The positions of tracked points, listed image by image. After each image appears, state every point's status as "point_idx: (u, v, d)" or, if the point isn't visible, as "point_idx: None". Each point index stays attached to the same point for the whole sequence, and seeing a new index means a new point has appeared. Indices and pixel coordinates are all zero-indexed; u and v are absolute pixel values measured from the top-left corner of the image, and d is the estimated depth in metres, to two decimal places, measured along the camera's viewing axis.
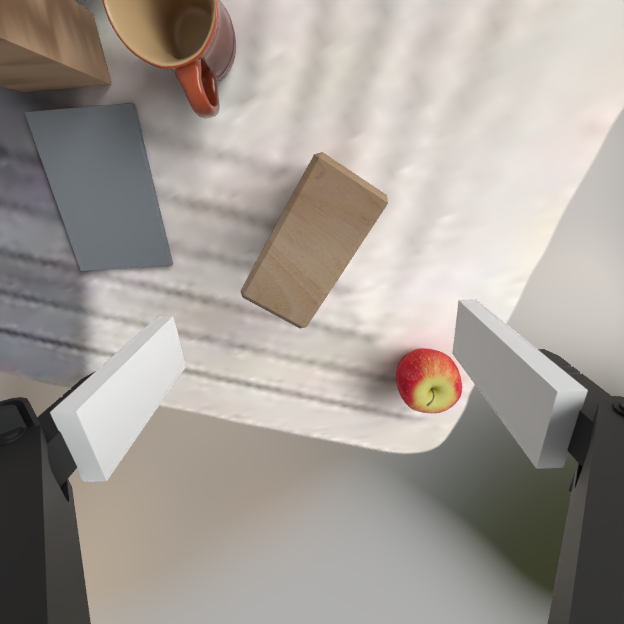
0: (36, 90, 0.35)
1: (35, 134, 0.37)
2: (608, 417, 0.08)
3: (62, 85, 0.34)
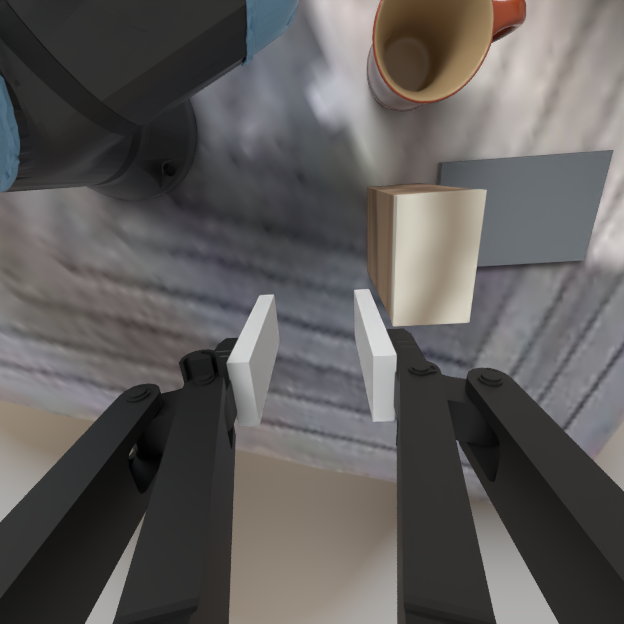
0: None
1: None
2: (406, 379, 0.10)
3: None
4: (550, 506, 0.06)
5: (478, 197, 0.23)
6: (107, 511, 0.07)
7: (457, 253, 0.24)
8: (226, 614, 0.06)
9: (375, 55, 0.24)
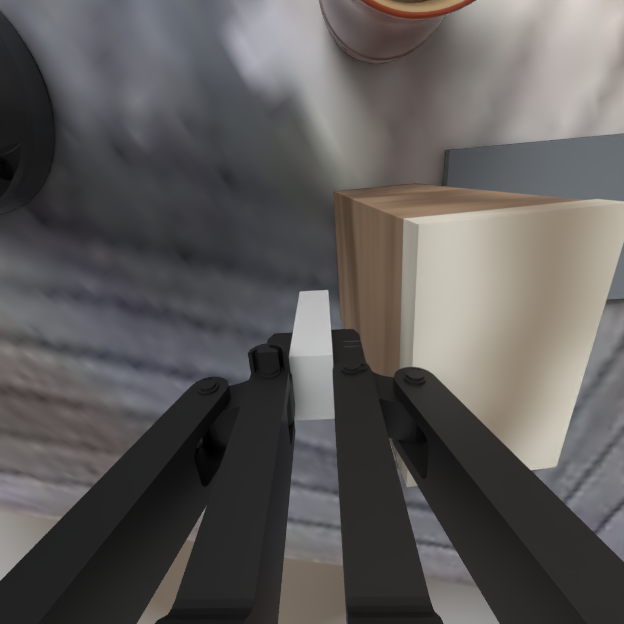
0: None
1: None
2: (339, 379, 0.10)
3: None
4: (474, 499, 0.06)
5: (613, 221, 0.09)
6: (172, 502, 0.08)
7: (549, 345, 0.11)
8: (276, 615, 0.06)
9: None
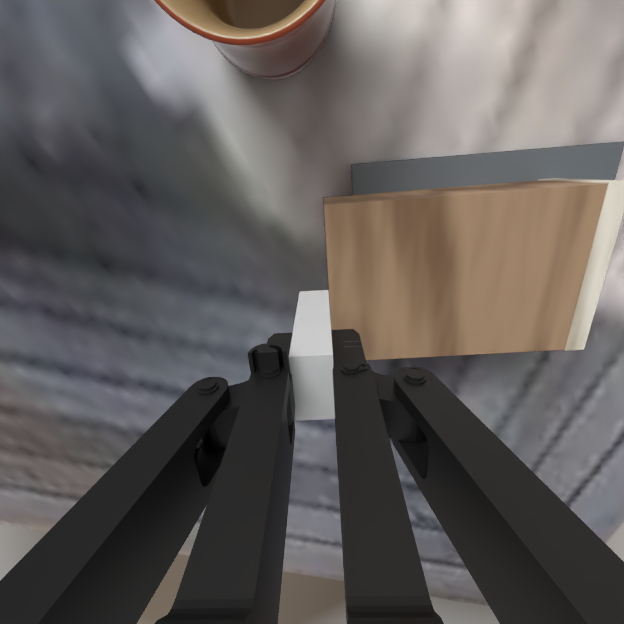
0: None
1: None
2: (339, 379, 0.10)
3: None
4: (475, 498, 0.06)
5: None
6: (172, 502, 0.08)
7: None
8: (276, 615, 0.06)
9: None
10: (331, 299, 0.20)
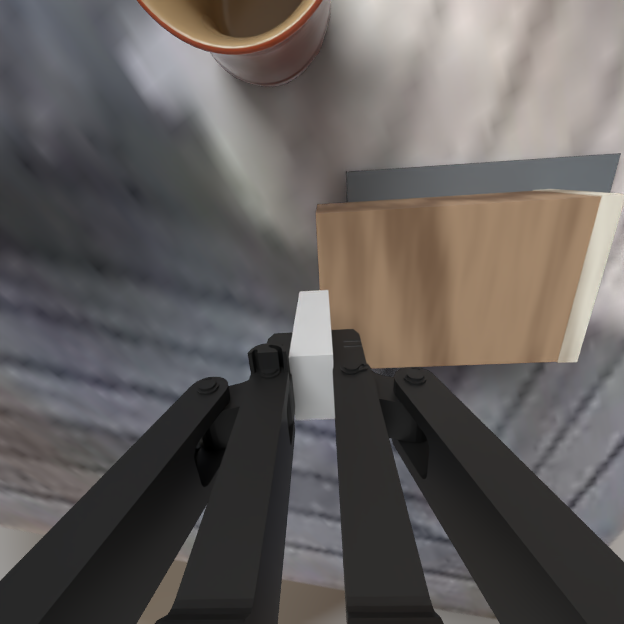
0: None
1: None
2: (339, 379, 0.10)
3: None
4: (475, 499, 0.06)
5: None
6: (172, 502, 0.08)
7: None
8: (276, 614, 0.06)
9: None
10: None
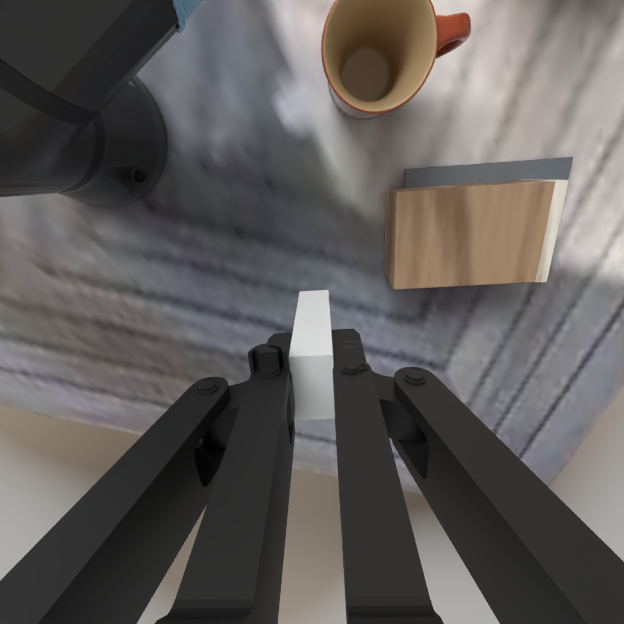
0: None
1: None
2: (339, 379, 0.10)
3: None
4: (475, 499, 0.06)
5: None
6: (172, 502, 0.08)
7: None
8: (276, 615, 0.06)
9: (325, 68, 0.25)
10: (396, 248, 0.34)
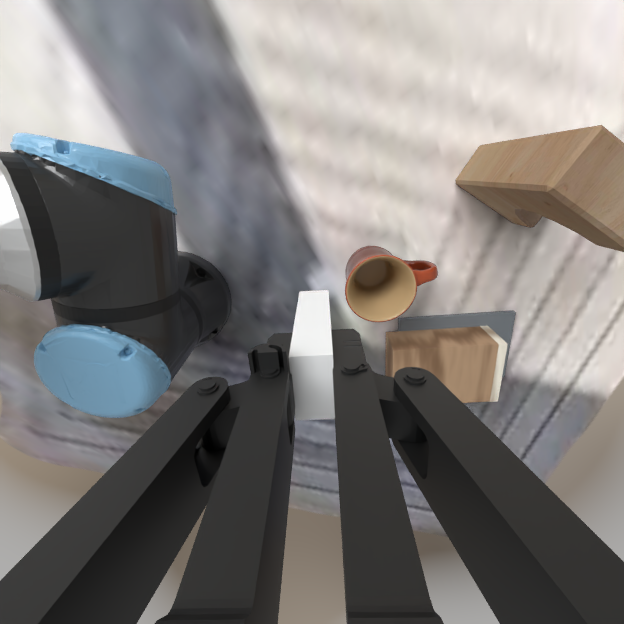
0: None
1: None
2: (339, 379, 0.10)
3: None
4: (474, 499, 0.06)
5: None
6: (172, 502, 0.08)
7: None
8: (276, 615, 0.06)
9: (347, 300, 0.41)
10: None
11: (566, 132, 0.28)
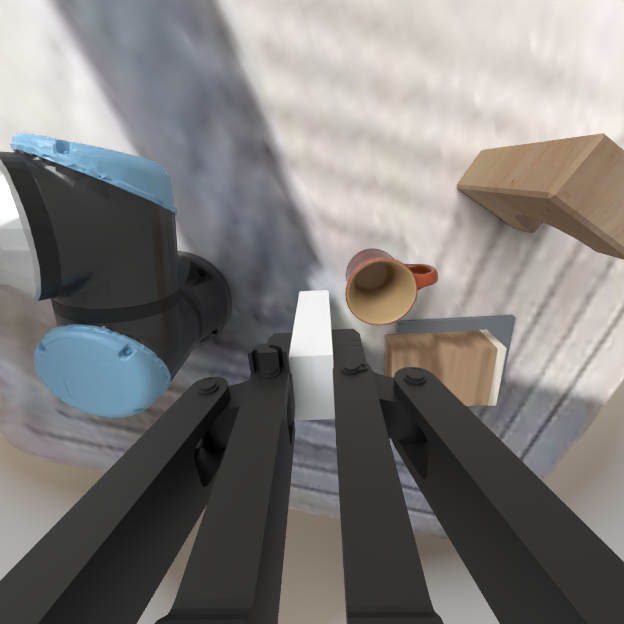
0: None
1: None
2: (339, 379, 0.10)
3: None
4: (475, 499, 0.06)
5: None
6: (172, 502, 0.08)
7: None
8: (276, 615, 0.06)
9: (347, 302, 0.41)
10: None
11: (568, 139, 0.28)
